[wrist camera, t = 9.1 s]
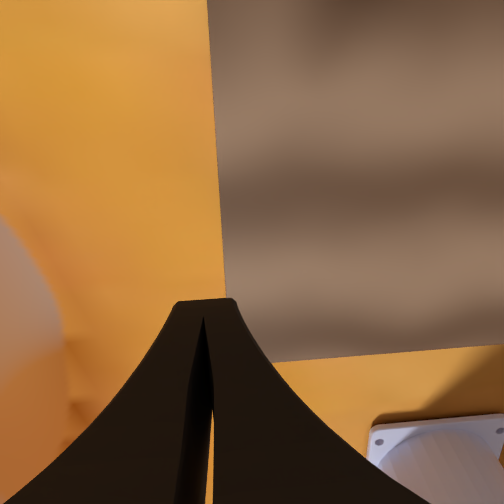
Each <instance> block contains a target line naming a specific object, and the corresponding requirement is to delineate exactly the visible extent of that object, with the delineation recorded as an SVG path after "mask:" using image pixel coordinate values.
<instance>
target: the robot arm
mask: <svg viewBox="0 0 504 504" xmlns="http://www.w3.org/2000/svg"><path fill="white" fill-rule="evenodd" d="M212 410H213V418H214V470H213V504H504V468H503V467H502V465H501V464H500V462H499V457H500V454H501V450H502V447H503V444H504V414H489V415H478V416H467V417H456V418H445V419H434V420H423V421H412V422H401V423H390V424H379V425H375V426H373V427H372V428H371V429H370V432H369V440H368V449H367V457H366V458H364V457H363V456H362V455H361V454H360V453H358V452H357V451H356V450H355V449H354V448H353V447H351V446H350V445H349V444H348V443H347V442H346V441H344V440H343V439H342V438H341V437H340V436H339V435H337V434H336V433H335V432H334V431H333V430H332V429H330V428H329V427H328V426H327V425H326V424H325V423H324V422H323V421H322V420H321V419H320V418H319V417H318V416H317V415H316V414H315V413H314V412H313V411H312V410H311V409H310V408H309V407H308V406H307V405H306V404H305V403H304V402H303V401H302V400H301V399H300V398H299V397H298V396H297V395H296V393H295V392H294V391H293V390H292V389H291V388H290V387H289V385H288V384H287V383H286V382H285V381H284V379H283V378H282V377H281V376H280V374H279V373H278V372H277V370H276V369H275V368H274V367H273V365H272V364H271V363H270V361H269V360H268V358H267V357H266V356H265V354H264V353H263V351H262V350H261V348H260V347H259V345H258V344H257V342H256V340H255V339H254V337H253V336H252V334H251V332H250V331H249V329H248V327H247V325H246V323H245V322H244V320H243V317H242V315H241V313H240V311H239V308H238V306H237V302H236V301H235V300H234V299H233V298H219V299H205V300H191V301H178V302H177V303H176V304H175V305H174V306H173V308H172V311H171V313H170V315H169V317H168V318H167V320H166V322H165V324H164V326H163V328H162V329H161V331H160V333H159V334H158V336H157V338H156V339H155V341H154V343H153V344H152V346H151V347H150V349H149V350H148V352H147V353H146V355H145V357H144V358H143V360H142V361H141V362H140V364H139V365H138V367H137V368H136V369H135V371H134V372H133V373H132V375H131V376H130V377H129V379H128V380H127V381H126V383H125V384H124V386H123V387H122V388H121V389H120V391H119V392H118V393H117V394H116V396H115V397H114V398H113V399H112V401H111V402H110V403H109V404H108V405H107V406H106V408H105V409H104V410H103V411H102V412H101V413H100V414H99V416H98V417H97V418H96V419H95V420H94V421H93V422H92V423H91V424H90V425H89V427H88V428H87V429H86V430H85V431H84V432H83V433H82V434H81V435H80V436H79V437H78V438H77V439H76V440H75V441H74V442H73V443H72V444H71V445H70V446H69V447H68V448H67V449H66V450H65V451H64V452H63V453H62V454H61V455H59V456H58V457H57V458H56V459H55V460H54V461H53V462H52V463H51V464H50V465H49V466H48V467H47V468H45V469H44V470H43V471H42V472H41V473H40V474H39V475H37V476H36V477H35V478H34V479H33V480H31V481H30V482H29V483H28V484H27V485H26V486H24V487H23V488H22V489H21V490H20V491H18V492H17V493H16V494H15V495H14V496H12V497H11V498H10V499H9V500H7V501H6V502H5V503H4V504H205V496H206V484H207V471H208V458H209V445H210V432H211V419H212Z"/></svg>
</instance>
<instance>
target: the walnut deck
mask: <svg viewBox="0 0 504 504" xmlns="http://www.w3.org/2000/svg"><path fill="white" fill-rule="evenodd" d="M207 8H208V23H209V39H210V54H211V69H212V85H213V100H214V116H215V131H216V146H217V162H218V177H219V193H220V208H221V224H222V239H223V254H224V270H225V285H226V298H233V299H234V300H235V301H236V302H237V306H238V308H239V311H240V313H241V315H242V317H243V320H244V322H245V323H246V325H247V327H248V329H249V331H250V332H251V334H252V336H253V337H254V339H255V340H256V342H257V344H258V345H259V347H260V348H261V350H262V351H263V353H264V354H265V356H266V357H267V358H268V360H269V361H270V363H275V362H287V361H300V360H312V359H325V358H337V357H349V356H362V355H374V354H386V353H399V352H411V351H423V350H436V349H448V348H460V347H473V346H485V345H497V344H504V0H207Z"/></svg>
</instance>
